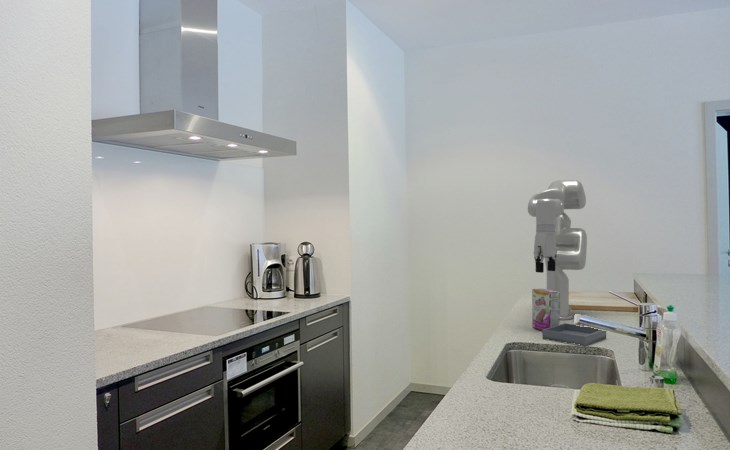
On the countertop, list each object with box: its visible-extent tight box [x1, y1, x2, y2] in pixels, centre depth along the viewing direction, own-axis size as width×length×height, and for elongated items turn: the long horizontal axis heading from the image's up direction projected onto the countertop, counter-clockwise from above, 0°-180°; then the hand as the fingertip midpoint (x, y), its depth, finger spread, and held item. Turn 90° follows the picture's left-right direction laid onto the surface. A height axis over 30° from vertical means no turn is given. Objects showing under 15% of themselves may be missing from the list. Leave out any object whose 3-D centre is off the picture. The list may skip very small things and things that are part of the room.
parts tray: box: [542, 322, 607, 347], centre depth 208 cm, size 18×16×4 cm
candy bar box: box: [531, 288, 560, 332], centre depth 223 cm, size 11×5×16 cm, turn 22°
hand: (545, 271), depth 222 cm, fingers open, 9 cm apart
